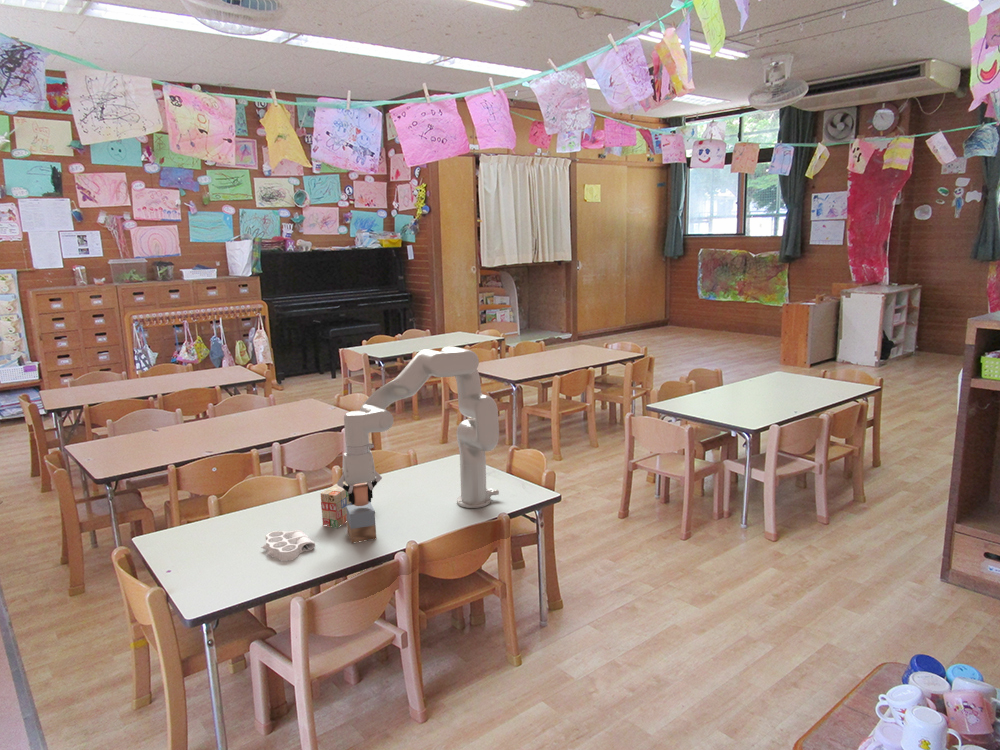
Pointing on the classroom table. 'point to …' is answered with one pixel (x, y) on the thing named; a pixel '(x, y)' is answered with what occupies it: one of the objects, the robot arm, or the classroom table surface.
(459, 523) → the classroom table surface
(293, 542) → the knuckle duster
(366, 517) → the tower top
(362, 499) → the terracotta cylinder
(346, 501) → the stack of blocks
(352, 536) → the tower base
